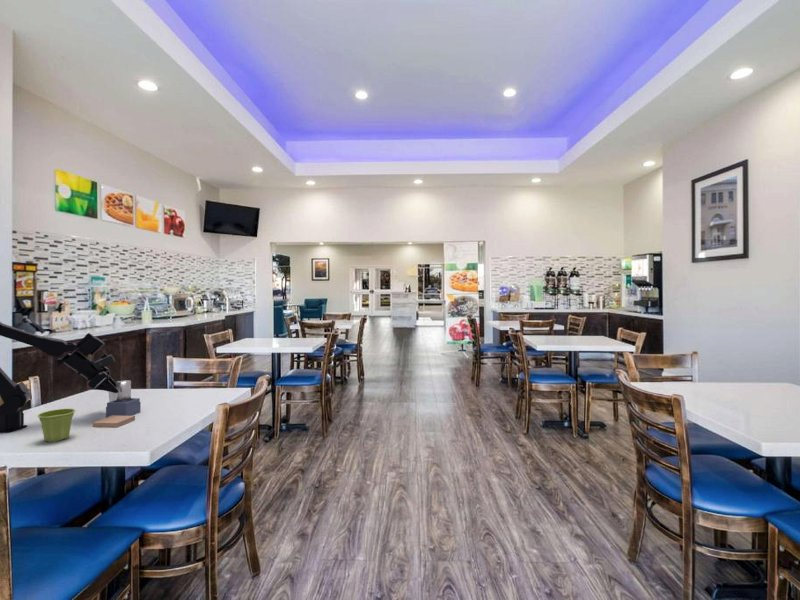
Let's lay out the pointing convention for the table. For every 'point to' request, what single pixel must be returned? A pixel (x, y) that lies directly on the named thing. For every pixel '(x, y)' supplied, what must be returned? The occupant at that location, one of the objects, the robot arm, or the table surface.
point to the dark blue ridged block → (123, 408)
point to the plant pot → (56, 424)
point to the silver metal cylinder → (123, 391)
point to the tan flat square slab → (113, 421)
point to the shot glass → (112, 396)
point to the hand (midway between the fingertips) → (117, 389)
